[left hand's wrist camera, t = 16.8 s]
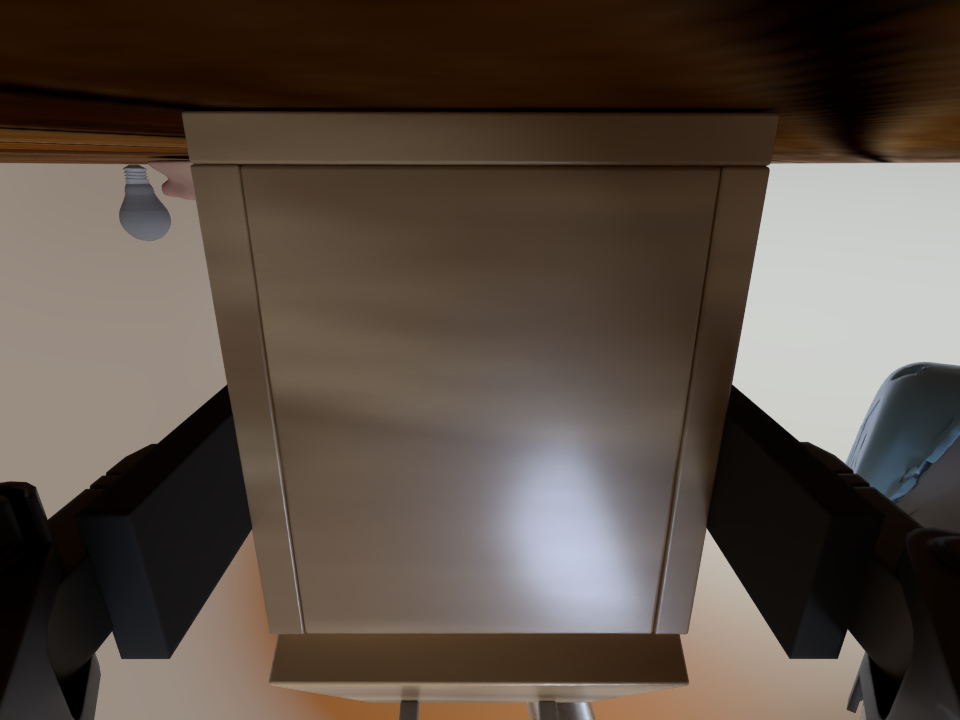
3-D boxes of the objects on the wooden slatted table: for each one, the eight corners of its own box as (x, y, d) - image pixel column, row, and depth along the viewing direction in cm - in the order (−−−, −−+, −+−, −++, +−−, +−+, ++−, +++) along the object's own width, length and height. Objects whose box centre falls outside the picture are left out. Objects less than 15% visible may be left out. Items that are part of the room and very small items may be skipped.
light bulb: (147, 164, 66) (163, 243, 69) (167, 165, 72) (181, 237, 75) (97, 164, 65) (116, 243, 69) (121, 164, 71) (137, 238, 74)
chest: (601, 154, 20) (582, 407, 24) (357, 153, 20) (375, 406, 24) (782, 111, 8) (688, 635, 12) (178, 109, 8) (269, 635, 12)
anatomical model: (148, 219, 36) (316, 214, 40) (135, 159, 35) (311, 160, 39) (168, 207, 47) (298, 204, 52) (159, 162, 46) (293, 162, 50)
